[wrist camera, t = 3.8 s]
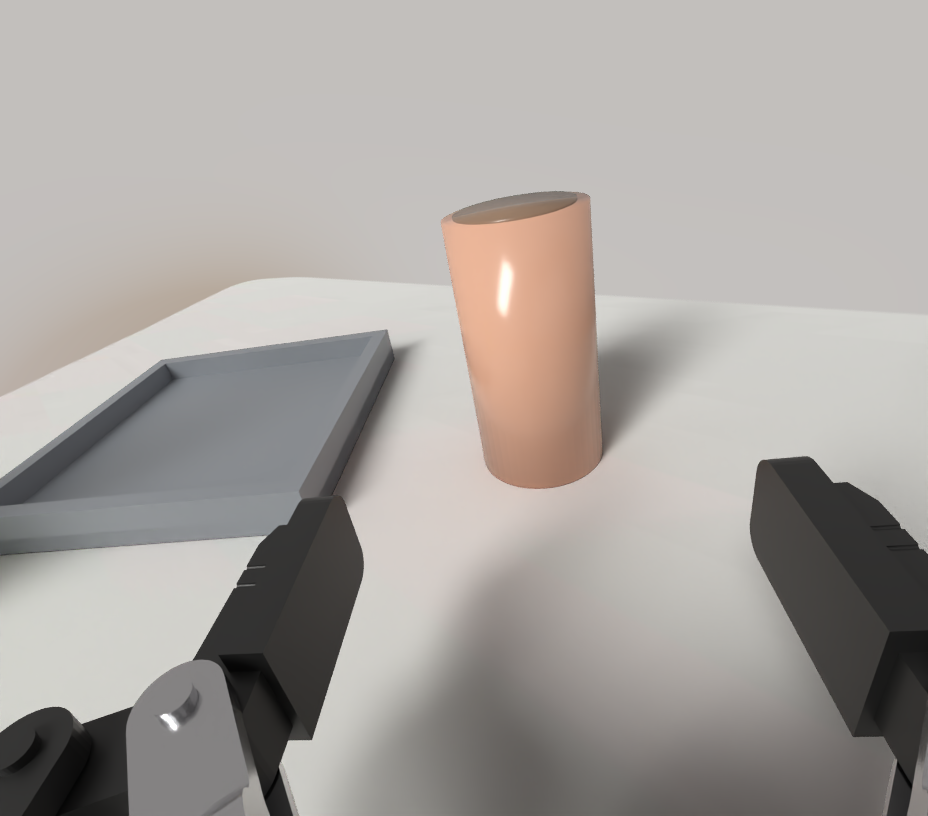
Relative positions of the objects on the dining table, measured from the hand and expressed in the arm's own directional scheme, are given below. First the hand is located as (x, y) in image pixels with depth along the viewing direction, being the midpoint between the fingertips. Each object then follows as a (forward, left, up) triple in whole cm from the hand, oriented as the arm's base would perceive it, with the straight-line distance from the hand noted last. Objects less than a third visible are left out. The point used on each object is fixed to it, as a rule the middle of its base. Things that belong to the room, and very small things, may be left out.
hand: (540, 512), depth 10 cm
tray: (+17, -15, -6) cm, 23 cm away
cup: (0, -11, -6) cm, 12 cm away
